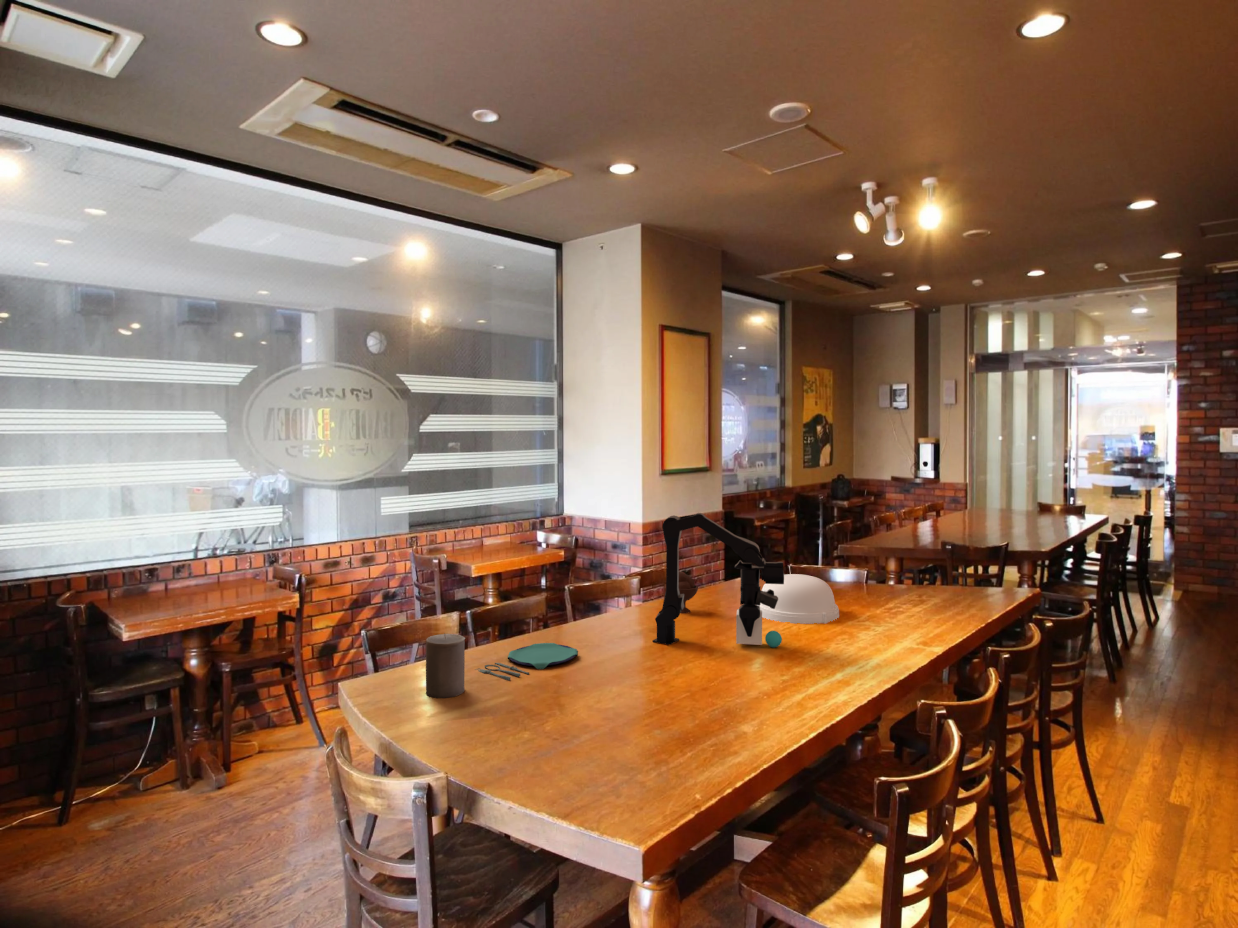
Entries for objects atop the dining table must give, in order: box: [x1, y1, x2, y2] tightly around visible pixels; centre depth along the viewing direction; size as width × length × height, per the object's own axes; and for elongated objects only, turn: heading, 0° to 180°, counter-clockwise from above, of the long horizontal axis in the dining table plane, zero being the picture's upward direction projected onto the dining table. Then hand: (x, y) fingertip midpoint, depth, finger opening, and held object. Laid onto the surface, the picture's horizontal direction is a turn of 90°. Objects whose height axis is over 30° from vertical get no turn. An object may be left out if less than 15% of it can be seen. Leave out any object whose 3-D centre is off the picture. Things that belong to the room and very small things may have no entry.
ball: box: [764, 630, 783, 648], centre depth 225 cm, size 5×5×5 cm
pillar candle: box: [425, 633, 466, 699], centre depth 186 cm, size 10×10×15 cm
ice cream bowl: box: [679, 571, 699, 614], centre depth 271 cm, size 11×11×15 cm
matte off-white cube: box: [735, 608, 763, 646], centre depth 227 cm, size 8×8×9 cm
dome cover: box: [757, 573, 840, 625], centre depth 268 cm, size 32×30×14 cm
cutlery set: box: [474, 642, 579, 681], centre depth 211 cm, size 20×30×2 cm, turn 138°
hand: (749, 633), depth 227 cm, fingers closed on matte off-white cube, 8 cm apart
